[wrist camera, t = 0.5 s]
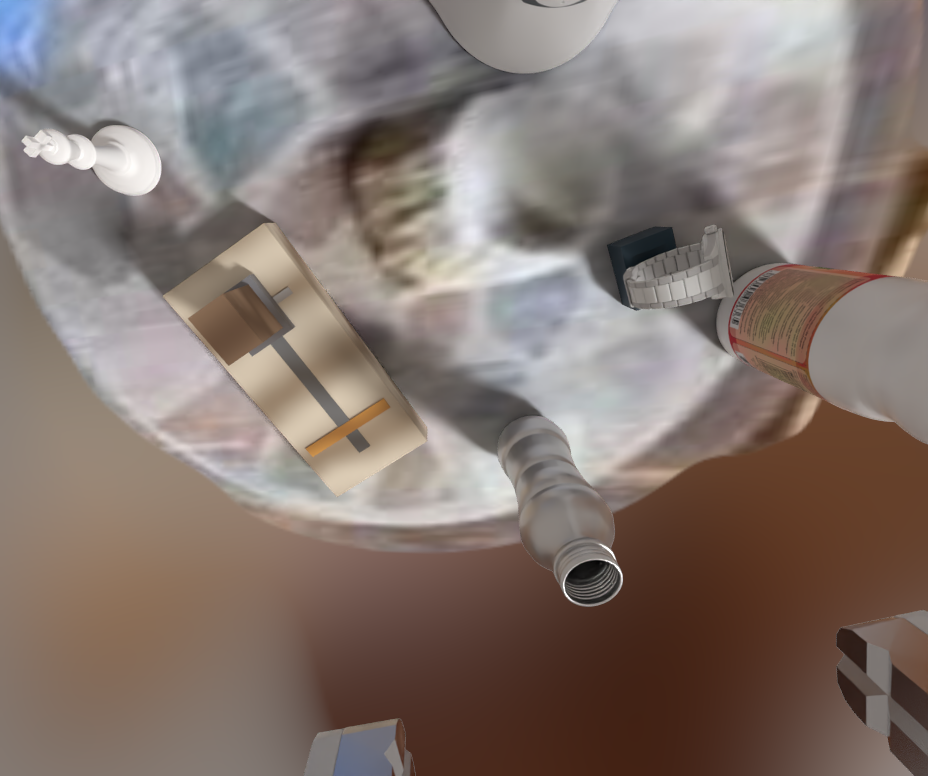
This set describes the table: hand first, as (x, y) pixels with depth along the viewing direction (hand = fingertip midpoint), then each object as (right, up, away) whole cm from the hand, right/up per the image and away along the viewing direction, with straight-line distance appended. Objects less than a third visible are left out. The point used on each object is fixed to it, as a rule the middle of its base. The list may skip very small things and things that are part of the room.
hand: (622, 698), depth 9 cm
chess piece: (-29, +23, +29) cm, 47 cm away
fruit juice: (+25, +13, +36) cm, 46 cm away
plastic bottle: (+3, +1, +39) cm, 39 cm away
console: (-17, +8, +35) cm, 39 cm away
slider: (-20, +12, +30) cm, 38 cm away
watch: (+13, +16, +34) cm, 40 cm away
